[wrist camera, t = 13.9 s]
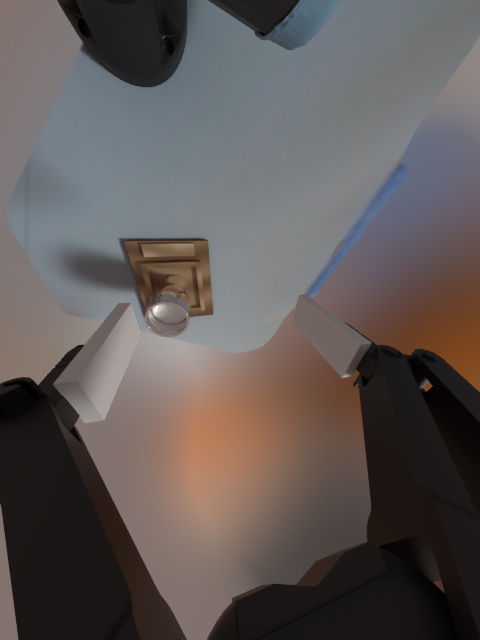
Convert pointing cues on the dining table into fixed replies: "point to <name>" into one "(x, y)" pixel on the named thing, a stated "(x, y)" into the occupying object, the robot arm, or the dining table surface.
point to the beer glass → (169, 308)
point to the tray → (173, 269)
